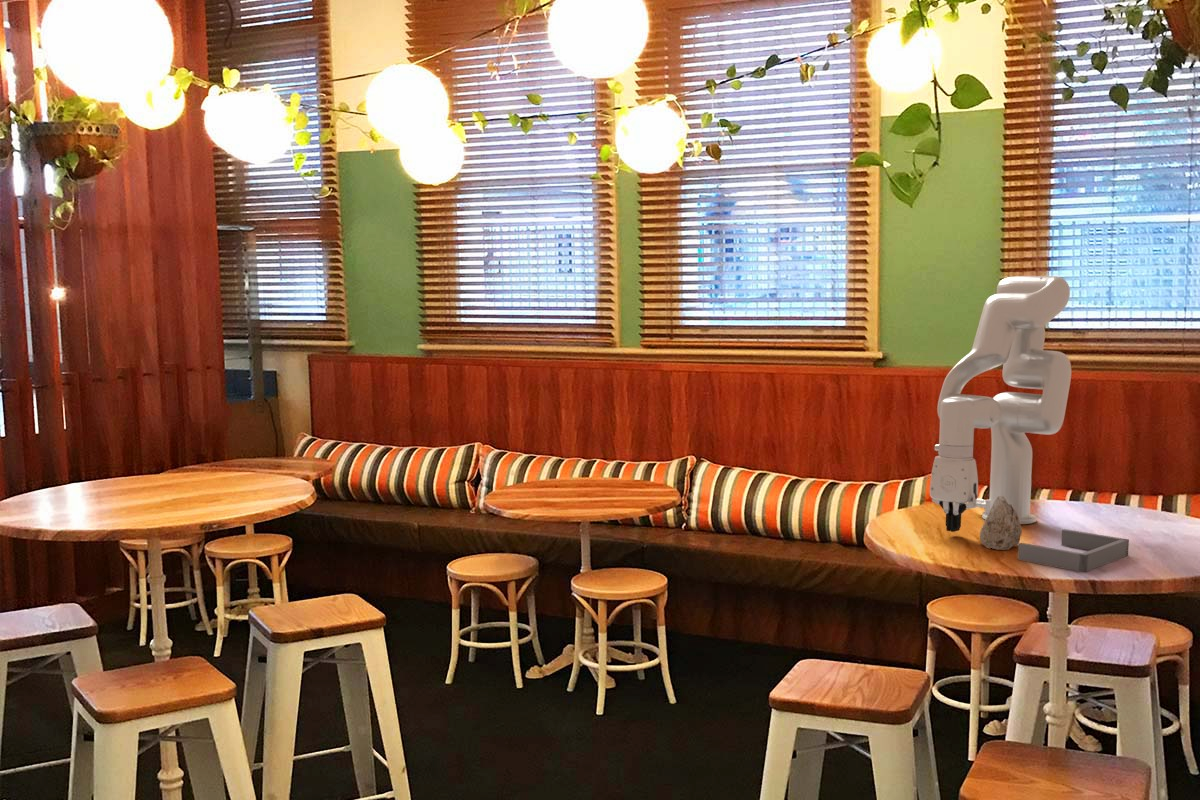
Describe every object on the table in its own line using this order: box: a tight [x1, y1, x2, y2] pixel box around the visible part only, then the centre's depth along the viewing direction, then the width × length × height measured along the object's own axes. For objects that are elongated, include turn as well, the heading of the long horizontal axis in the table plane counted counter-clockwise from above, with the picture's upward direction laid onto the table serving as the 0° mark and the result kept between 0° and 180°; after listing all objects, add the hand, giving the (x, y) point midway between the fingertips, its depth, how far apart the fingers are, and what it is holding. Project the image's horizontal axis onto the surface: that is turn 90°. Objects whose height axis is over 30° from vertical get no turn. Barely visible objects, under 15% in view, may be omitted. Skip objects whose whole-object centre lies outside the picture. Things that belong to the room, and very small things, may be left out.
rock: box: [979, 496, 1023, 551], centre depth 259 cm, size 14×10×8 cm
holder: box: [1017, 528, 1130, 573], centre depth 247 cm, size 14×21×4 cm, turn 133°
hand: (953, 530), depth 268 cm, fingers closed
